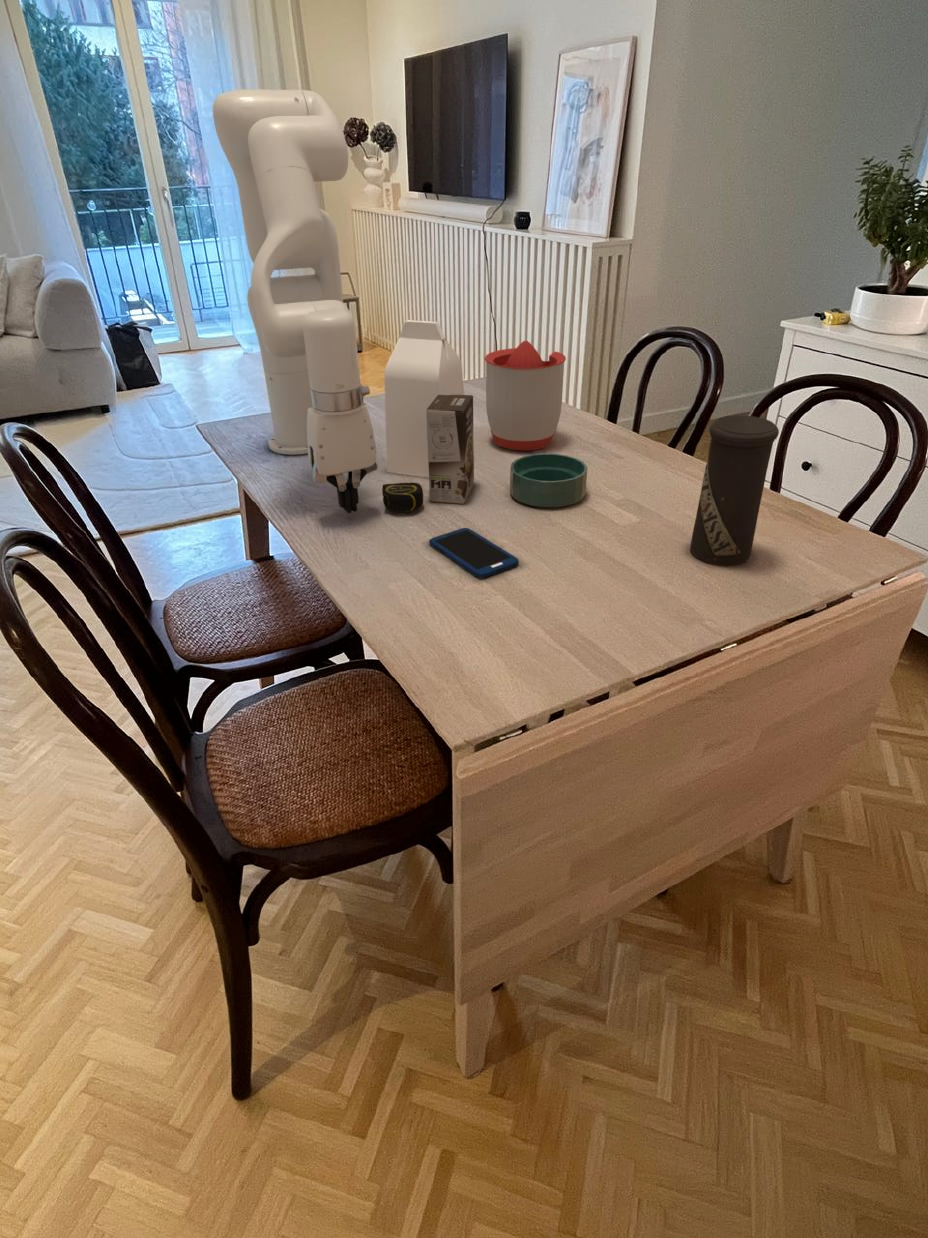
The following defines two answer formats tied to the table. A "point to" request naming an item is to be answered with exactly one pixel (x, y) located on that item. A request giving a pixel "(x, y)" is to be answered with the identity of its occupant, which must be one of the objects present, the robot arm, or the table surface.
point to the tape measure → (402, 496)
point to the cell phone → (473, 552)
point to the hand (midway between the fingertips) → (349, 509)
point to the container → (732, 489)
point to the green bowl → (548, 480)
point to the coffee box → (450, 448)
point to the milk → (416, 393)
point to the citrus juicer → (523, 396)
